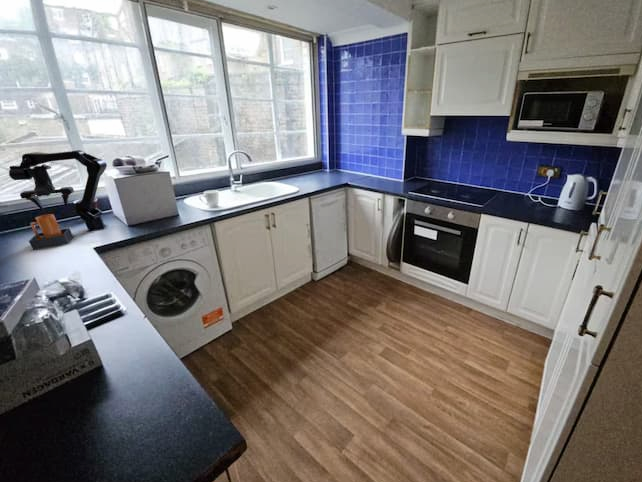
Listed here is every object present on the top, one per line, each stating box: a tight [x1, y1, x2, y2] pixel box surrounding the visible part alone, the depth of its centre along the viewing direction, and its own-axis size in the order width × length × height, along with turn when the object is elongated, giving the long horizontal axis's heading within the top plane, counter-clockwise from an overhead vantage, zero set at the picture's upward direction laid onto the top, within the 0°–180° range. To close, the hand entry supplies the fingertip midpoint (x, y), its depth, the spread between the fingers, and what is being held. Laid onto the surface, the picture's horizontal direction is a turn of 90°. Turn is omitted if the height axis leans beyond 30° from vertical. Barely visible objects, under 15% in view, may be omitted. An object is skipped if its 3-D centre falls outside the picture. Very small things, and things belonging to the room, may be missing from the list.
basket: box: [28, 227, 74, 251], centre depth 144 cm, size 12×11×5 cm
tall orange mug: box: [29, 213, 63, 239], centre depth 141 cm, size 9×6×13 cm
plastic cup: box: [73, 197, 98, 209], centre depth 174 cm, size 11×11×12 cm
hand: (55, 208), depth 153 cm, fingers open, 9 cm apart
